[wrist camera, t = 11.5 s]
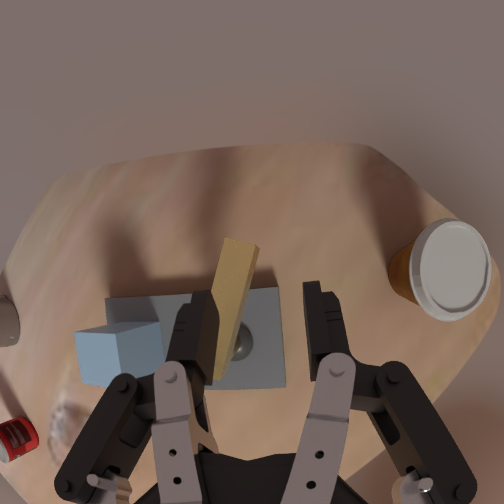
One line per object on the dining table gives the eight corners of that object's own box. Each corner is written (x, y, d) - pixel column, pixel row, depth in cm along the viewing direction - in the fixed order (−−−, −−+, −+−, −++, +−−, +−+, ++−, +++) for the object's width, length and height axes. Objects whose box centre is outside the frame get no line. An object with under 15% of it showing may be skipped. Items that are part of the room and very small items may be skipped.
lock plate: (123, 379, 36) (106, 387, 32) (112, 297, 37) (93, 298, 33) (286, 381, 33) (285, 395, 29) (278, 286, 35) (276, 287, 30)
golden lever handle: (241, 353, 32) (218, 385, 21) (221, 347, 32) (190, 375, 22) (267, 256, 32) (255, 244, 22) (246, 251, 33) (225, 237, 22)
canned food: (21, 437, 38) (-10, 451, 28) (16, 409, 39) (-19, 421, 28) (43, 452, 37) (11, 470, 26) (36, 425, 38) (1, 441, 27)
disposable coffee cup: (412, 325, 32) (460, 343, 20) (361, 277, 33) (394, 276, 22) (452, 268, 32) (507, 262, 20) (404, 219, 33) (449, 194, 21)
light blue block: (128, 362, 34) (82, 383, 24) (122, 321, 35) (74, 331, 25) (165, 364, 33) (124, 389, 24) (159, 321, 34) (115, 334, 24)
